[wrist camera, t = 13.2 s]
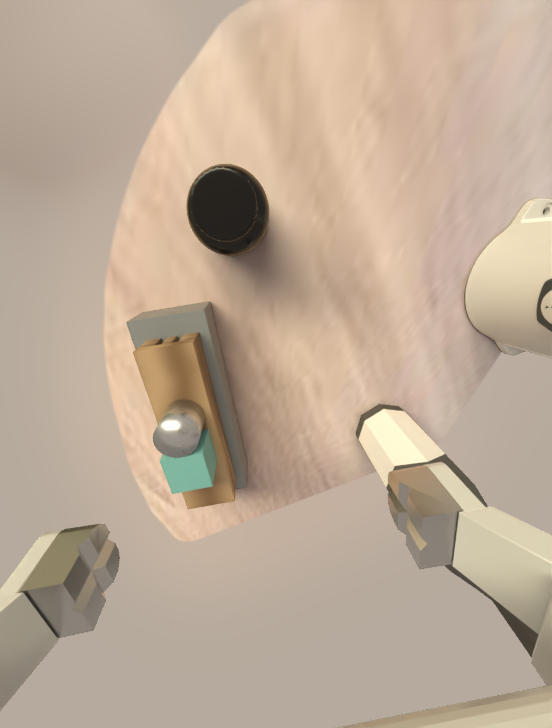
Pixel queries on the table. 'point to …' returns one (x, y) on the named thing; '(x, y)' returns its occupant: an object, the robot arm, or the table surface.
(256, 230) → the supplement bottle
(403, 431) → the wine bottle
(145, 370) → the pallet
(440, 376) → the table surface
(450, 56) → the table surface
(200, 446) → the mint green cube
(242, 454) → the dock
